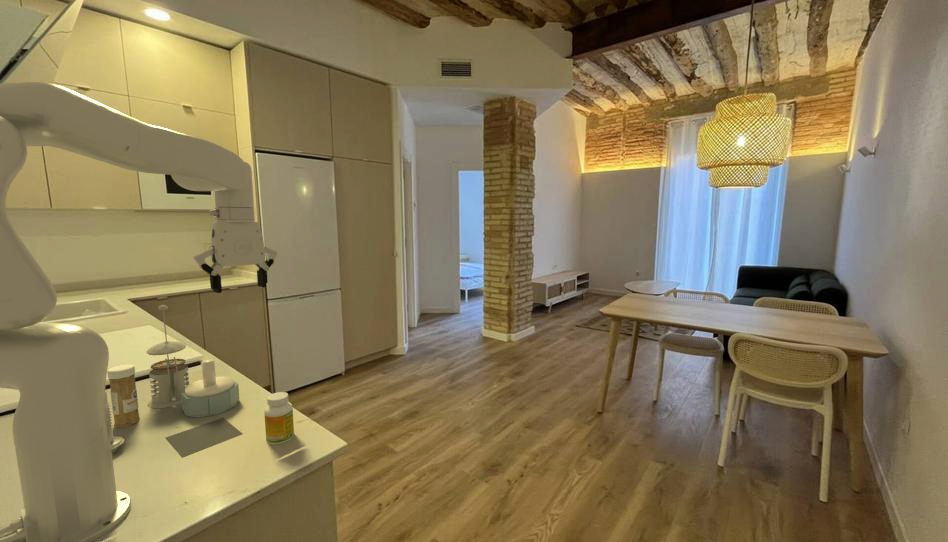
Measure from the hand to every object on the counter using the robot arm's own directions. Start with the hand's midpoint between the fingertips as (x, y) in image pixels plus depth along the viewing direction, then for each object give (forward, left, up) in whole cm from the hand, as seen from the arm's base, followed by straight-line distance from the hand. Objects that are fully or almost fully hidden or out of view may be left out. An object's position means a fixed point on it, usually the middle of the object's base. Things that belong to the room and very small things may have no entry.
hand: (240, 289), depth 92 cm
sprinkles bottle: (-20, +15, -31) cm, 39 cm away
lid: (-5, +9, -25) cm, 27 cm away
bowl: (-5, +9, -30) cm, 32 cm away
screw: (-25, +3, -31) cm, 40 cm away
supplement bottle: (-1, -18, -31) cm, 35 cm away
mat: (-11, -5, -30) cm, 33 cm away
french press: (-10, +21, -31) cm, 38 cm away
